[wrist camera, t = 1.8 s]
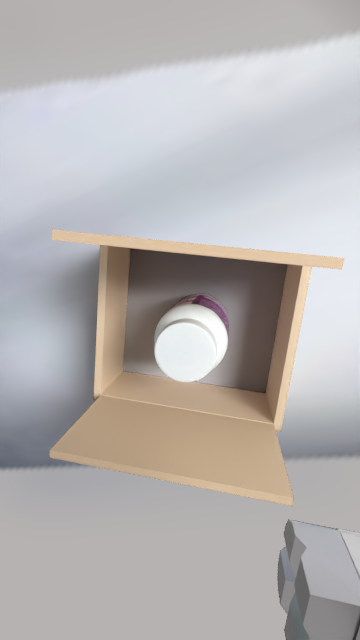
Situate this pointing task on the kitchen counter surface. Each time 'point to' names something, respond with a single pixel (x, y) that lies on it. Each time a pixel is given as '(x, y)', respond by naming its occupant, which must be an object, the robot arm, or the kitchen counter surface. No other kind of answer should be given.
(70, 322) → the kitchen counter surface
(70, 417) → the kitchen counter surface
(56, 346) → the kitchen counter surface
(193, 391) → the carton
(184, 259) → the kitchen counter surface
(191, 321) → the pill bottle
